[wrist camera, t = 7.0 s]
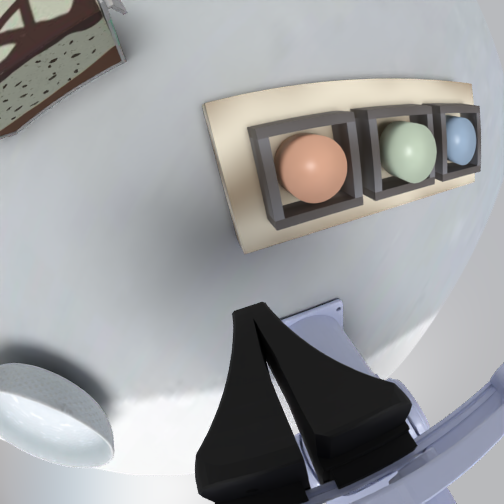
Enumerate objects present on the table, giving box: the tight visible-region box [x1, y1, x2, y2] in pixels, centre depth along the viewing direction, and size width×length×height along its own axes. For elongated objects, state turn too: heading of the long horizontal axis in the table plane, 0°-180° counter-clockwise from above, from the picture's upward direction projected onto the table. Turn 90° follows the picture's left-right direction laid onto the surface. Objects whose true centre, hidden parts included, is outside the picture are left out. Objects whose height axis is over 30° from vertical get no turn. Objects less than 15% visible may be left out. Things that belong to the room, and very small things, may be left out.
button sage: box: [379, 121, 437, 183], centre depth 16 cm, size 4×4×2 cm
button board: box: [202, 79, 481, 254], centre depth 18 cm, size 10×24×4 cm, turn 102°
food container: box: [0, 0, 127, 139], centre depth 8 cm, size 12×6×10 cm, turn 110°
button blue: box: [445, 115, 476, 165], centre depth 18 cm, size 4×4×2 cm
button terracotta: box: [274, 133, 347, 203], centre depth 16 cm, size 4×4×2 cm
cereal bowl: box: [0, 363, 114, 468], centre depth 21 cm, size 17×17×7 cm
